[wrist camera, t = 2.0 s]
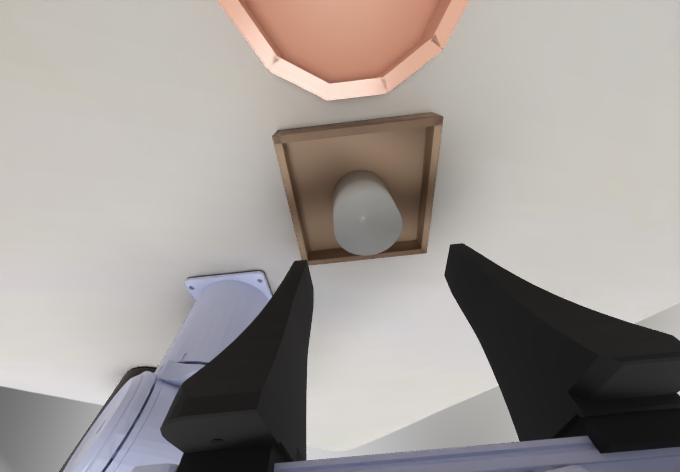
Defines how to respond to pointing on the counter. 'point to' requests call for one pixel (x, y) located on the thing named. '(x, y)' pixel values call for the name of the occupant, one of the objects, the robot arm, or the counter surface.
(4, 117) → the counter surface
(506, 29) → the counter surface
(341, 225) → the stone
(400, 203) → the tray
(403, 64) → the bowl
